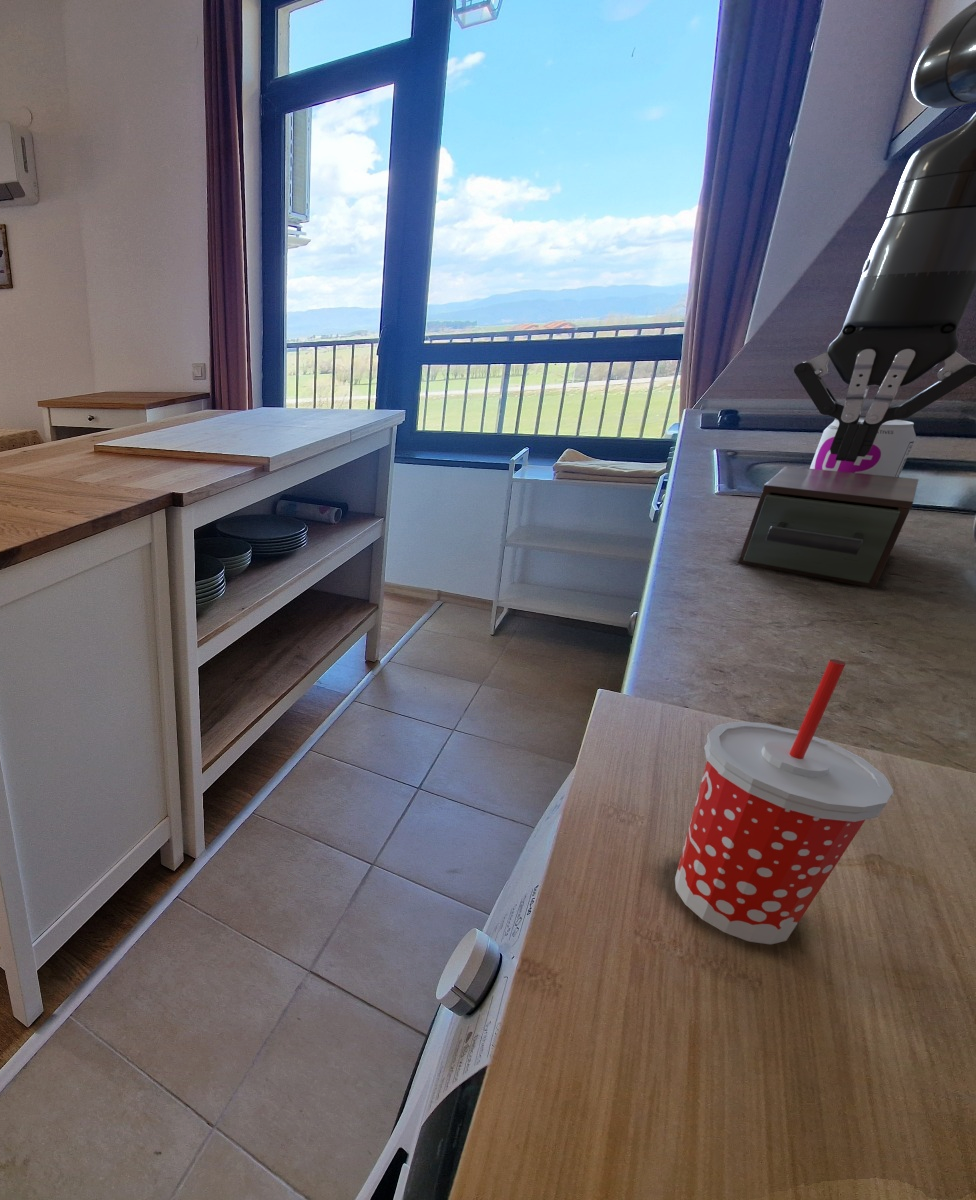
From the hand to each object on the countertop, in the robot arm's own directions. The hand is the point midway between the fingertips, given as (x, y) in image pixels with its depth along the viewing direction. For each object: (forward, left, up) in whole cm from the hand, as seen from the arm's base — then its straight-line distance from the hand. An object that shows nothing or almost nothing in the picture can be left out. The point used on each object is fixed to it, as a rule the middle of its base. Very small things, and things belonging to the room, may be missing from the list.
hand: (845, 459), depth 64 cm
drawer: (-4, -5, -13) cm, 14 cm away
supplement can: (-16, -20, -14) cm, 29 cm away
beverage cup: (+33, +48, -14) cm, 60 cm away
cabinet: (-7, -9, -14) cm, 18 cm away
